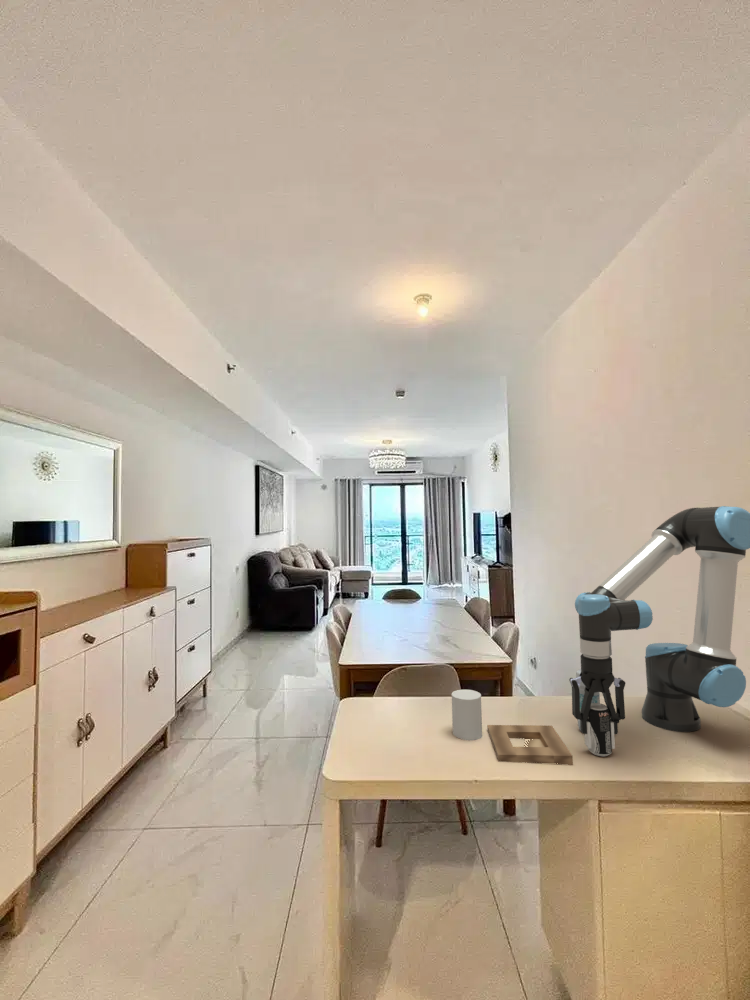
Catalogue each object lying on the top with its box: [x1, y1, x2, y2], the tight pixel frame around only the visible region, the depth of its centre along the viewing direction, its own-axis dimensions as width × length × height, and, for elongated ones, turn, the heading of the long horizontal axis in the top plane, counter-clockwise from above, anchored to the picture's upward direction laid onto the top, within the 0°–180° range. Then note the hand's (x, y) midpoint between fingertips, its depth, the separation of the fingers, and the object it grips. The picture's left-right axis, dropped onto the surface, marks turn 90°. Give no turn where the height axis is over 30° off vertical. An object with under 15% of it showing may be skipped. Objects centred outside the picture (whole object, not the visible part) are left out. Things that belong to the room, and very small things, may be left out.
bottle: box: [575, 668, 601, 732], centre depth 140 cm, size 7×7×20 cm
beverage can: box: [587, 702, 613, 758], centre depth 127 cm, size 6×6×12 cm
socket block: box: [486, 724, 574, 766], centre depth 130 cm, size 18×18×2 cm
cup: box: [451, 689, 483, 741], centre depth 138 cm, size 8×8×12 cm
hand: (599, 745), depth 127 cm, fingers closed on beverage can, 5 cm apart
